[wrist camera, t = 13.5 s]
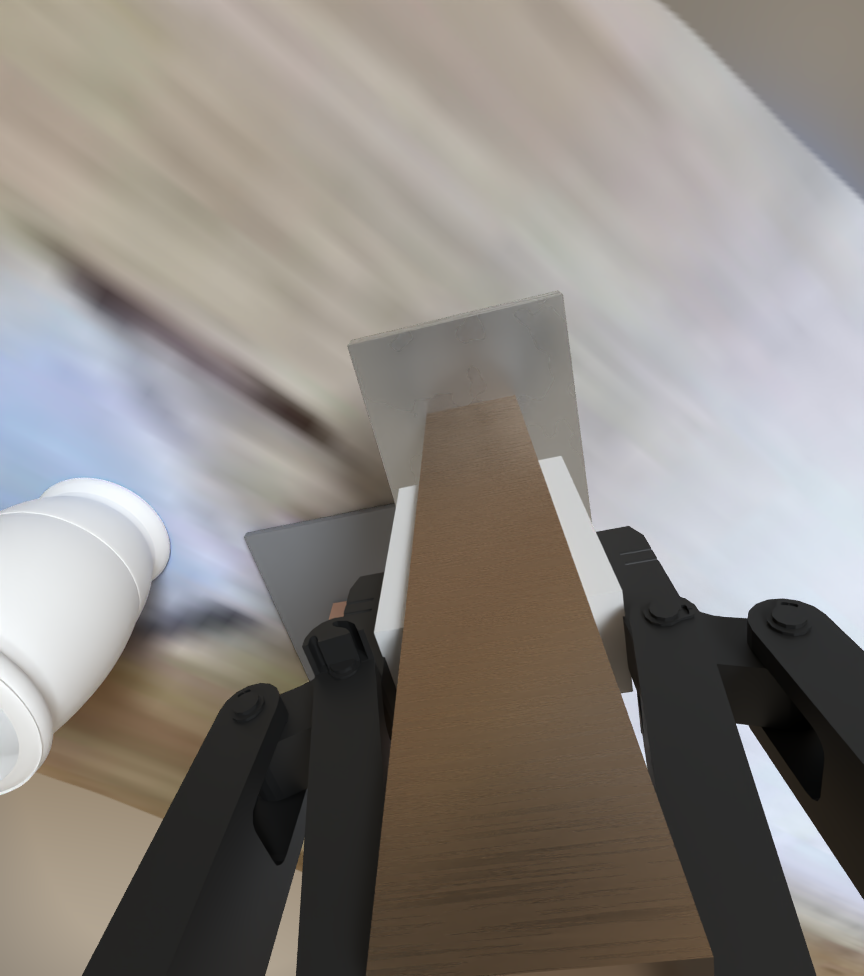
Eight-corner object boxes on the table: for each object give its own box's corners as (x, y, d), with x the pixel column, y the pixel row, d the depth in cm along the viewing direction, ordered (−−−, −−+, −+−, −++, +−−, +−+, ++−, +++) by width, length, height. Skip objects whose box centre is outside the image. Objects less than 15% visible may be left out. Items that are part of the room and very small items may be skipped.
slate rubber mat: (246, 532, 36) (244, 537, 36) (507, 480, 34) (508, 484, 33) (340, 740, 45) (339, 746, 44) (552, 709, 43) (553, 715, 42)
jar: (25, 576, 38) (-202, 777, 25) (16, 440, 33) (-270, 597, 20) (183, 611, 39) (46, 822, 26) (194, 484, 35) (36, 661, 21)
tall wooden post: (351, 340, 22) (-2, 818, 5) (558, 290, 21) (1061, 675, 4) (414, 552, 26) (349, 1201, 9) (587, 519, 25) (883, 1183, 8)
